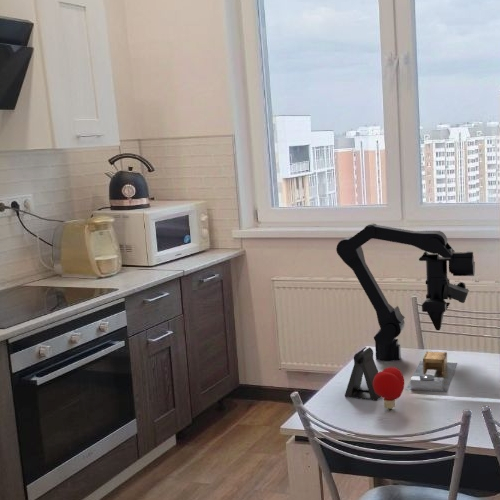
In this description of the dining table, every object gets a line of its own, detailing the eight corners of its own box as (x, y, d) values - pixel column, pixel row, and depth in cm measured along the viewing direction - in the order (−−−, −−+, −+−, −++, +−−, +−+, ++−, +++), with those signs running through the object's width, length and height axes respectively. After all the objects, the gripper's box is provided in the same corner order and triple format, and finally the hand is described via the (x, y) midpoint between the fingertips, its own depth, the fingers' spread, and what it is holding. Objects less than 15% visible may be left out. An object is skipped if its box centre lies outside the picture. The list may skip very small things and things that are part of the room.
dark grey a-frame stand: (386, 393, 194) (384, 348, 192) (377, 401, 189) (375, 355, 187) (353, 389, 199) (351, 345, 197) (344, 396, 193) (342, 351, 192)
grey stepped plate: (405, 392, 193) (405, 377, 193) (420, 363, 216) (419, 350, 216) (447, 395, 190) (446, 380, 189) (457, 365, 212) (457, 351, 212)
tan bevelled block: (423, 372, 206) (422, 358, 205) (427, 365, 212) (426, 351, 212) (444, 373, 204) (443, 359, 203) (447, 366, 210) (446, 352, 209)
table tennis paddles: (386, 401, 188) (384, 362, 187) (411, 406, 184) (410, 366, 182) (367, 413, 181) (365, 373, 180) (393, 418, 177) (391, 377, 175)
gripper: (463, 282, 201) (464, 339, 203) (469, 269, 218) (470, 322, 220) (420, 282, 205) (422, 337, 207) (430, 269, 222) (431, 321, 224)
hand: (438, 329), depth 214 cm, fingers closed
